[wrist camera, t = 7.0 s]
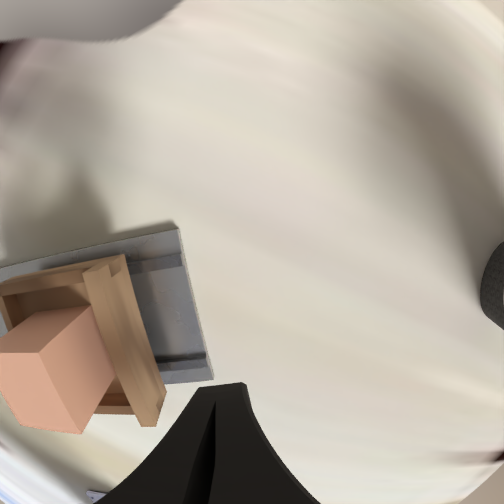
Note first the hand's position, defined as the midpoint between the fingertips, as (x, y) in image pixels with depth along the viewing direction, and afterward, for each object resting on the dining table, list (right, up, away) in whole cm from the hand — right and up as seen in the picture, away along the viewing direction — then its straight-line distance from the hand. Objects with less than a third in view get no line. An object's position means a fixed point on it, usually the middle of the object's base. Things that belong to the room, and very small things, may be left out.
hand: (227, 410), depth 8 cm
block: (-9, 0, +6) cm, 11 cm away
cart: (-9, 0, +9) cm, 12 cm away
